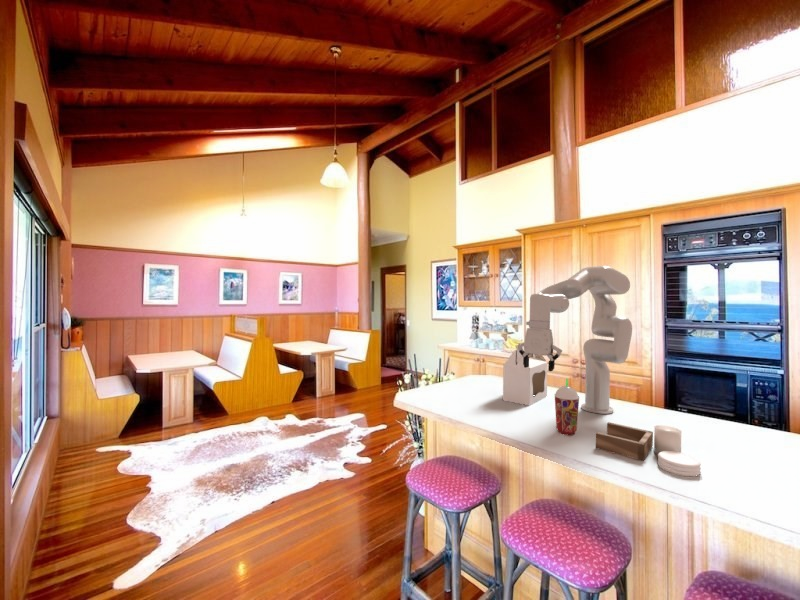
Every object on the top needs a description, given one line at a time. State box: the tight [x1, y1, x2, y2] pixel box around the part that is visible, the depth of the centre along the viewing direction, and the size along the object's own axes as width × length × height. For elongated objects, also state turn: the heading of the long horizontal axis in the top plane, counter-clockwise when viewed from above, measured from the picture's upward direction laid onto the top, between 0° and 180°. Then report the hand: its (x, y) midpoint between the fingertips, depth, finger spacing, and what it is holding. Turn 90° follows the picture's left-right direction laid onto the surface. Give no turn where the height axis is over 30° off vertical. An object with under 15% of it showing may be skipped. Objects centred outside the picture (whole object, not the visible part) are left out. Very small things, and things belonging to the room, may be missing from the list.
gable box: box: [502, 341, 548, 406], centre depth 181 cm, size 22×13×28 cm, turn 138°
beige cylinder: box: [653, 424, 682, 455], centre depth 118 cm, size 7×7×8 cm
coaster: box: [657, 451, 701, 477], centre depth 108 cm, size 10×10×4 cm
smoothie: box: [554, 378, 580, 436], centre depth 136 cm, size 8×8×20 cm
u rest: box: [595, 421, 654, 462], centre depth 123 cm, size 15×14×5 cm
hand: (538, 369), depth 143 cm, fingers open, 9 cm apart
